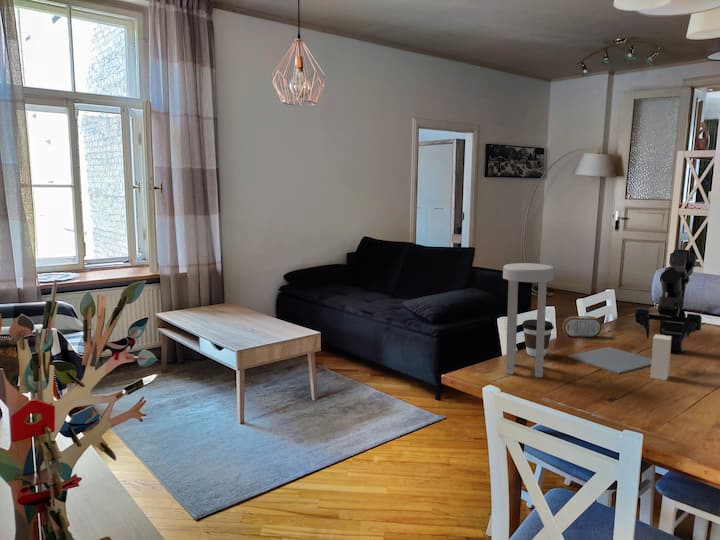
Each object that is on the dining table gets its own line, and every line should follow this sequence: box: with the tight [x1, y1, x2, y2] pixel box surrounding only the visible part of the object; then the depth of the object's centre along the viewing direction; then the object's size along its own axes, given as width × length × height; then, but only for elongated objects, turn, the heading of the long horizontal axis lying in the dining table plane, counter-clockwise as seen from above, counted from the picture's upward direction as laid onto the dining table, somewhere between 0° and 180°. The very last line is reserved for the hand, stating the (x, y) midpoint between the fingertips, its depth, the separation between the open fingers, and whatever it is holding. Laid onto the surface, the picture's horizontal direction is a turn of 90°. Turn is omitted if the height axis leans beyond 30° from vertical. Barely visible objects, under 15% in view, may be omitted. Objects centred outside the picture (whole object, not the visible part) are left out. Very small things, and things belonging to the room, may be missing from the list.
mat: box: [567, 346, 652, 375], centre depth 184 cm, size 22×20×1 cm
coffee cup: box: [521, 318, 554, 358], centre depth 190 cm, size 11×11×12 cm
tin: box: [561, 315, 603, 338], centre depth 213 cm, size 15×3×8 cm, turn 84°
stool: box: [502, 262, 555, 378], centre depth 172 cm, size 16×16×35 cm
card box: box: [649, 333, 672, 381], centre depth 166 cm, size 5×4×13 cm
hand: (663, 340), depth 169 cm, fingers open, 9 cm apart
